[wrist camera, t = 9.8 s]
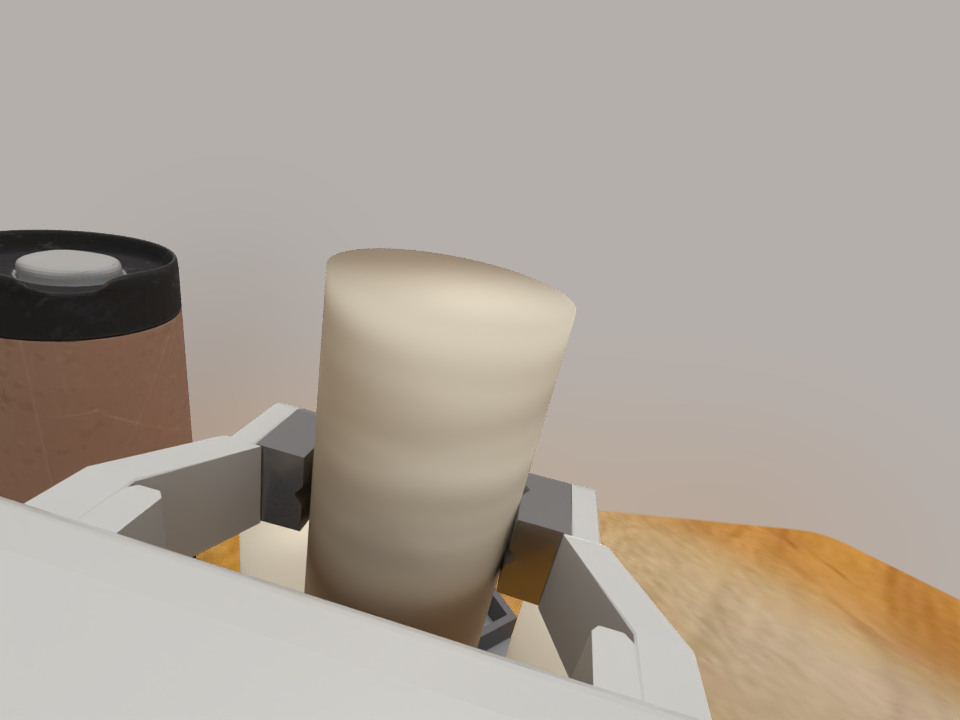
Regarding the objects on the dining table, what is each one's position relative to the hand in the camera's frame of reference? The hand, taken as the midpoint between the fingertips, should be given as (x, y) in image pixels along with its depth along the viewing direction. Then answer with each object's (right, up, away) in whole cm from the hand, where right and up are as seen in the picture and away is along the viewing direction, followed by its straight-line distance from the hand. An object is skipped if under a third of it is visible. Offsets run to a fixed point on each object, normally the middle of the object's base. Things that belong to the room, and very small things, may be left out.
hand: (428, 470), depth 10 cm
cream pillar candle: (-1, -5, +1) cm, 6 cm away
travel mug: (-20, -11, +17) cm, 28 cm away
